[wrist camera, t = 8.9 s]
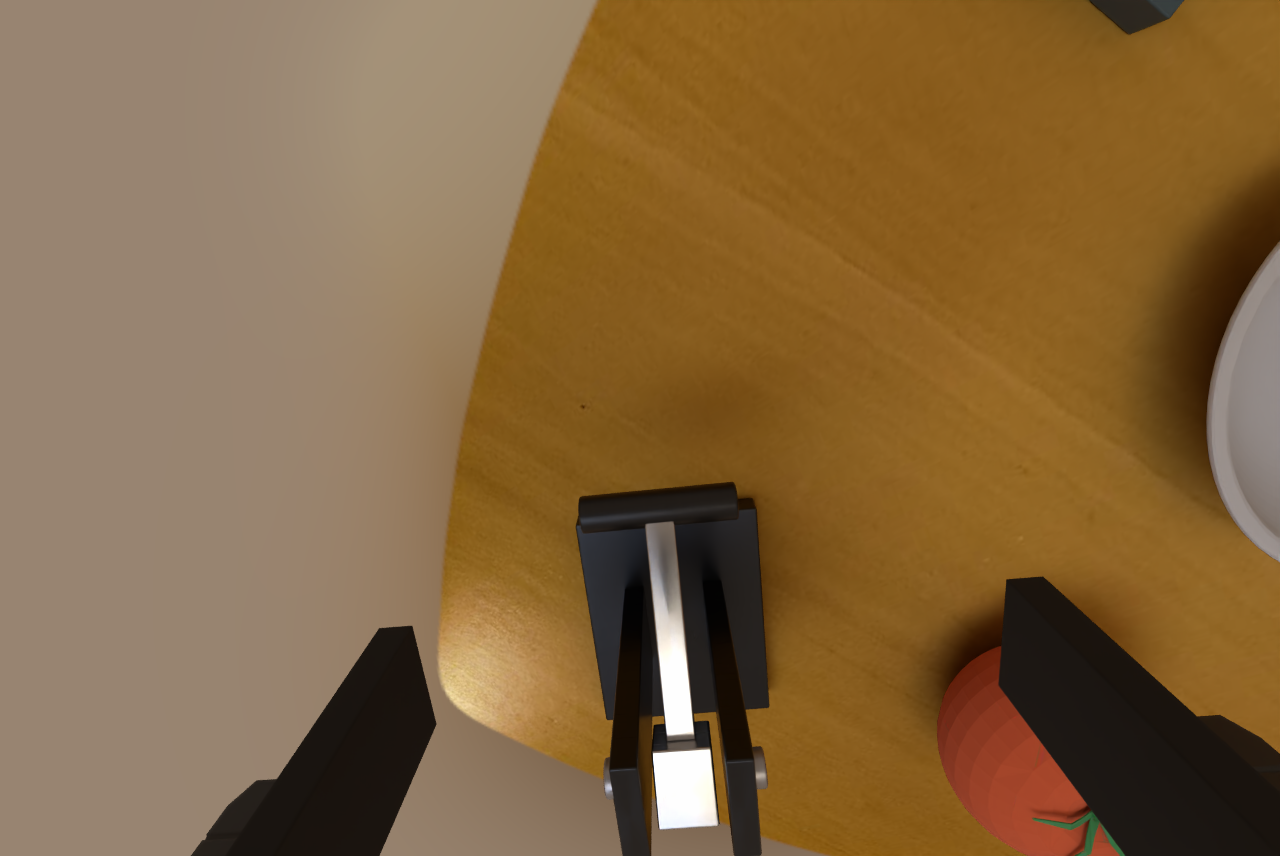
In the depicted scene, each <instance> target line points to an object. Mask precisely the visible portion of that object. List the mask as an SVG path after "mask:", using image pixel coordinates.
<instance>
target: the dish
mask: <svg viewBox="0 0 1280 856" xmlns="http://www.w3.org/2000/svg"><path fill="white" fill-rule="evenodd" d="M1206 425H1207V445H1208V453H1209V461H1210V465H1211V469H1212V473H1213V478H1214V481H1215V483H1216V486H1217V489H1218V492H1219V495H1220V497H1221V499H1222V501H1223V503H1224V505H1225V507H1226V509H1227V511H1228V512H1229V514H1230V515H1231V517H1232V519H1233V520H1234V522H1235V523H1236V524H1237V526H1238V527H1239V528H1240V529H1241V531H1242V532H1243V533H1244V534H1245V535H1246V536H1247V537H1248V538H1249V539H1250V540H1251V541H1252V542H1253V543H1254V544H1255V545H1256V546H1257V547H1258V548H1260V549H1261V550H1262V551H1264V552H1265V553H1266V554H1268V555H1269V556H1270V557H1272V558H1274V559H1275V560H1277V561H1279V562H1280V241H1279V242H1278V244H1277V245H1276V246H1275V247H1274V248H1273V250H1272V251H1271V252H1270V253H1269V255H1268V256H1267V257H1266V259H1265V260H1264V262H1263V263H1262V264H1261V266H1260V267H1259V269H1258V270H1257V272H1256V273H1255V275H1254V276H1253V278H1252V279H1251V281H1250V283H1249V284H1248V286H1247V288H1246V290H1245V291H1244V293H1243V295H1242V296H1241V298H1240V300H1239V302H1238V304H1237V306H1236V308H1235V310H1234V312H1233V314H1232V316H1231V319H1230V321H1229V324H1228V326H1227V329H1226V331H1225V333H1224V336H1223V338H1222V341H1221V345H1220V348H1219V351H1218V354H1217V357H1216V360H1215V365H1214V369H1213V373H1212V378H1211V382H1210V389H1209V396H1208V404H1207V421H1206Z"/></svg>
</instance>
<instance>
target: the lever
mask: <svg viewBox="0 0 1280 856" xmlns="http://www.w3.org/2000/svg"><path fill="white" fill-rule="evenodd" d="M578 512H579V522H580V527H581V530H582V532H583V533H585V534H587V533H597V532H608V531H619V530H630V529H640V528H645V530H646V540H647V550H648V560H649V570H650V580H651V590H652V600H653V611H654V621H655V631H656V641H657V651H658V661H659V671H660V681H661V692H662V702H663V712H664V722H665V724H657V725H654V728H653V739H652V749H651V757H652V767H653V777H654V788H655V798H656V808H657V818H658V828H659V829H660V830H669V829H683V828H699V827H715V826H719V824H720V823H719V814H718V804H717V794H716V784H715V774H714V765H713V755H712V745H711V736H710V727H709V722H708V721H697V722H695V721H694V711H693V701H692V691H691V681H690V671H689V661H688V651H687V642H686V632H685V622H684V612H683V602H682V592H681V582H680V572H679V562H678V552H677V542H676V533H675V525H684V524H694V523H705V522H716V521H727V520H737V519H738V517H739V507H738V497H737V490H736V486H735V483H734V482H725V483H715V484H705V485H694V486H684V487H674V488H663V489H653V490H642V491H632V492H622V493H611V494H601V495H590V496H582V497H580V499H579V505H578Z"/></svg>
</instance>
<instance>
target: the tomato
mask: <svg viewBox="0 0 1280 856" xmlns="http://www.w3.org/2000/svg"><path fill="white" fill-rule="evenodd" d="M1000 657H1001V646H999V647H996V648H994V649H991V650H989V651H987V652H984V653H983V654H981V655H980V656H978V657H976V658H975V659H973V660H972V661H971V662H970V663H969V664H967V665H966V666H965V667H964V668H963V669H962V670H961V671H960V672H959V673H958V674H957V676H956V677H955V678H954V680H953V681H952V682H951V683H950V685H949V687H948V689H947V691H946V693H945V695H944V697H943V701H942V705H941V709H940V713H939V717H938V721H937V738H938V748H939V753H940V757H941V761H942V765H943V768H944V770H945V773H946V776H947V778H948V781H949V782H950V784H951V786H952V788H953V790H954V791H955V793H956V795H957V796H958V798H959V799H960V801H961V802H962V804H963V805H964V807H965V808H966V809H967V810H968V811H969V813H970V814H971V815H972V816H973V817H974V818H975V819H976V820H977V821H978V822H979V823H980V824H981V825H982V826H983V827H984V828H985V829H986V830H988V831H989V832H990V833H991V834H992V835H994V836H995V837H997V838H998V839H999V840H1001V841H1002V842H1004V843H1006V844H1007V845H1009V846H1011V847H1012V848H1014V849H1016V850H1017V851H1019V852H1021V853H1023V854H1025V855H1028V856H1125V855H1124V853H1123V852H1122V851H1121V849H1120V848H1119V847H1118V845H1117V844H1116V843H1115V841H1114V840H1113V839H1112V837H1111V836H1110V835H1109V833H1108V832H1107V831H1106V829H1105V828H1104V827H1103V825H1102V824H1101V823H1100V821H1099V820H1098V819H1097V817H1096V816H1095V815H1094V813H1093V812H1092V811H1091V809H1090V808H1089V806H1088V805H1087V804H1086V802H1085V801H1084V800H1083V798H1082V797H1081V796H1080V794H1079V793H1078V792H1077V790H1076V789H1075V788H1074V786H1073V785H1072V784H1071V782H1070V781H1069V780H1068V778H1067V777H1066V776H1065V774H1064V773H1063V772H1062V770H1061V769H1060V768H1059V766H1058V765H1057V763H1056V762H1055V761H1054V759H1053V758H1052V757H1051V755H1050V754H1049V753H1048V751H1047V750H1046V749H1045V747H1044V746H1043V745H1042V743H1041V742H1040V741H1039V739H1038V738H1037V737H1036V735H1035V734H1034V733H1033V731H1032V730H1031V729H1030V727H1029V726H1028V725H1027V723H1026V722H1025V721H1024V719H1023V718H1022V716H1021V715H1020V714H1019V712H1018V711H1017V710H1016V708H1015V707H1014V706H1013V704H1012V703H1011V702H1010V700H1009V699H1008V698H1007V696H1006V695H1005V694H1004V692H1003V691H1002V690H1001V688H1000V687H999V686H998V682H999V669H1000Z"/></svg>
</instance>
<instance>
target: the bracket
mask: <svg viewBox="0 0 1280 856" xmlns="http://www.w3.org/2000/svg"><path fill="white" fill-rule="evenodd" d="M738 507H739V517H738V519H737V520H727V521H716V522H705V523H694V524H684V525H675V533H676V542H677V552H678V562H679V572H680V582H681V592H682V602H683V612H684V622H685V632H686V642H687V651H688V661H689V671H690V681H691V691H692V701H693V711H694V713H707V712H716V714H717V722H718V730H719V738H720V746H721V755H722V763H723V771H724V779H725V787H726V795H727V803H728V811H729V819H730V828H731V835H732V843H733V851H734V856H760V855H761V853H762V852H761V851H762V850H761V837H760V824H759V811H758V798H757V789H766V788H767V787H768V781H767V771H766V764H765V757H764V752H763V749H762V747H760V746H759V747H752V743H751V737H750V732H749V727H748V721H747V716H746V709H759V708H769V693H768V678H767V662H766V647H765V632H764V616H763V601H762V586H761V570H760V555H759V540H758V524H757V509H756V506H755V504H754V501H753V499H752V498H750V499H740V500H738ZM576 531H577V537H578V544H579V550H580V556H581V563H582V569H583V575H584V581H585V588H586V594H587V600H588V607H589V613H590V619H591V625H592V632H593V638H594V644H595V650H596V657H597V663H598V669H599V676H600V682H601V688H602V694H603V701H604V707H605V713H606V719H607V720H613V728H612V739H611V751H610V757H608V758H606V759H605V762H604V789H605V795H606V798H607V799H614V805H615V811H616V817H617V824H618V830H619V836H620V842H621V848H622V854H623V856H651V816H652V808H651V807H652V804H651V803H652V757H651V749H652V717H654V716H664V712H663V702H662V692H661V681H660V671H659V661H658V651H657V641H656V631H655V621H654V611H653V600H652V590H651V580H650V570H649V560H648V550H647V540H646V530H645V528H640V529H630V530H619V531H608V532H597V533H587V534H585V533H583V532H582V530H581V527H580V522H579V516H578V519H577V523H576Z"/></svg>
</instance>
